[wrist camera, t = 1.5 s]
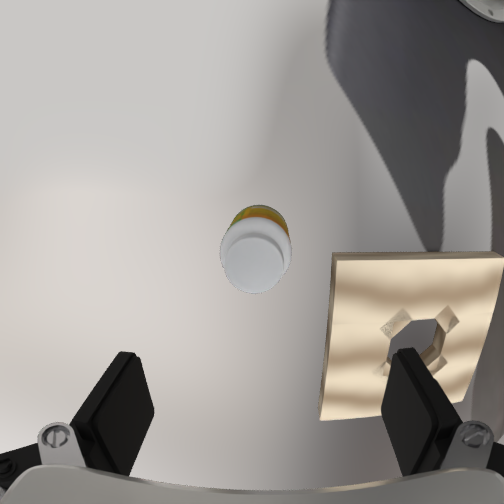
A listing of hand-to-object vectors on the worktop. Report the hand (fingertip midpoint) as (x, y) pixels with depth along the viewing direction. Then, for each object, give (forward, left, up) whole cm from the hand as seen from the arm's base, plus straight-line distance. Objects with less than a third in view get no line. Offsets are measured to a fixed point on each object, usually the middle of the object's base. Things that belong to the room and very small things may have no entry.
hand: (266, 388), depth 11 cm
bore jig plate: (+11, +16, -21) cm, 29 cm away
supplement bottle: (-1, -1, -21) cm, 21 cm away
